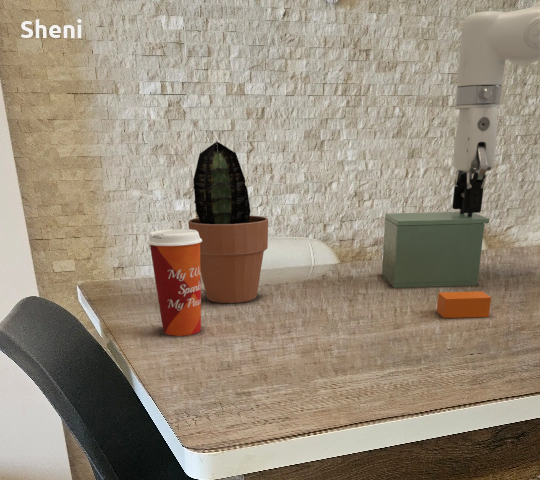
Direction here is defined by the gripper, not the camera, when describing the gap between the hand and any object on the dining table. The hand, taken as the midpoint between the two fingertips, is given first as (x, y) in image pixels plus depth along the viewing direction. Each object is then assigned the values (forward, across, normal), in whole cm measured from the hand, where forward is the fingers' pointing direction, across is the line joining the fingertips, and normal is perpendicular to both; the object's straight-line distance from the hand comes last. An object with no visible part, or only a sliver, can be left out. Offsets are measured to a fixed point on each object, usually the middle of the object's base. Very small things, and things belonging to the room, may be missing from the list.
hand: (466, 209), depth 123 cm
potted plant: (+13, -11, +44) cm, 47 cm away
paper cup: (+13, -33, +51) cm, 62 cm away
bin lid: (+2, 0, +6) cm, 6 cm away
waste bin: (+13, 0, +6) cm, 14 cm away
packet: (+13, -27, +7) cm, 31 cm away
